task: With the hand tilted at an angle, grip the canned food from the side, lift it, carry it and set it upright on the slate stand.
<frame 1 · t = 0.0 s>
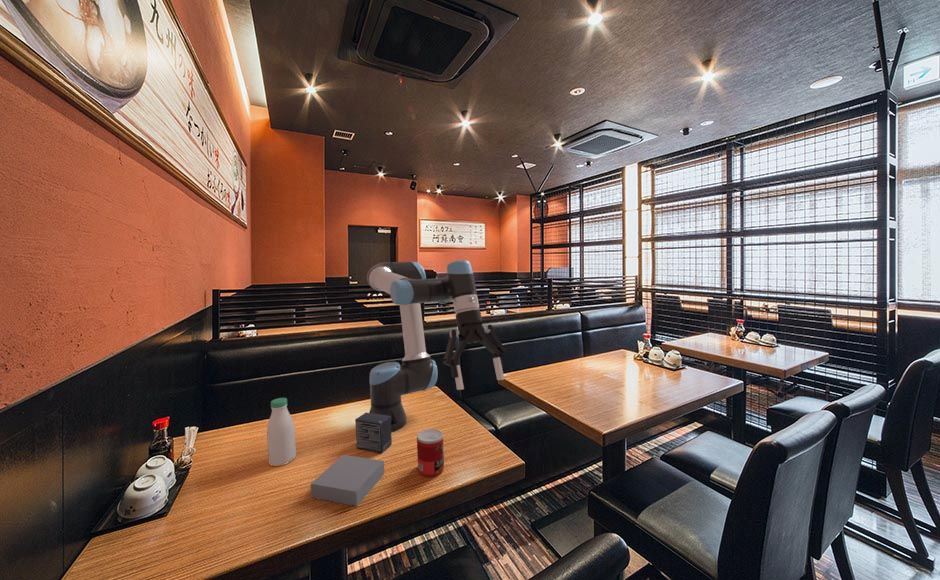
hand: (481, 384, 95), 28 cm above the table, tool tilted 20°, fingers open, 13 cm apart
milk bottle: (282, 460, 109), on the table
slate stand: (349, 485, 95), on the table
small box: (374, 447, 116), on the table
canned food: (431, 470, 102), on the table
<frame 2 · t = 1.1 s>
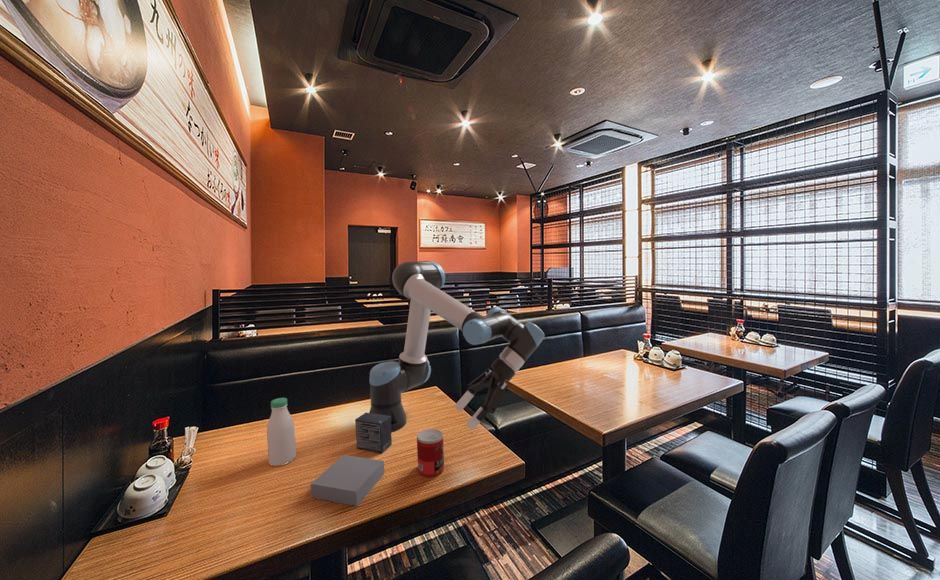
hand: (463, 417, 103), 15 cm above the table, tool tilted 45°, fingers open, 13 cm apart
nothing on the table moved.
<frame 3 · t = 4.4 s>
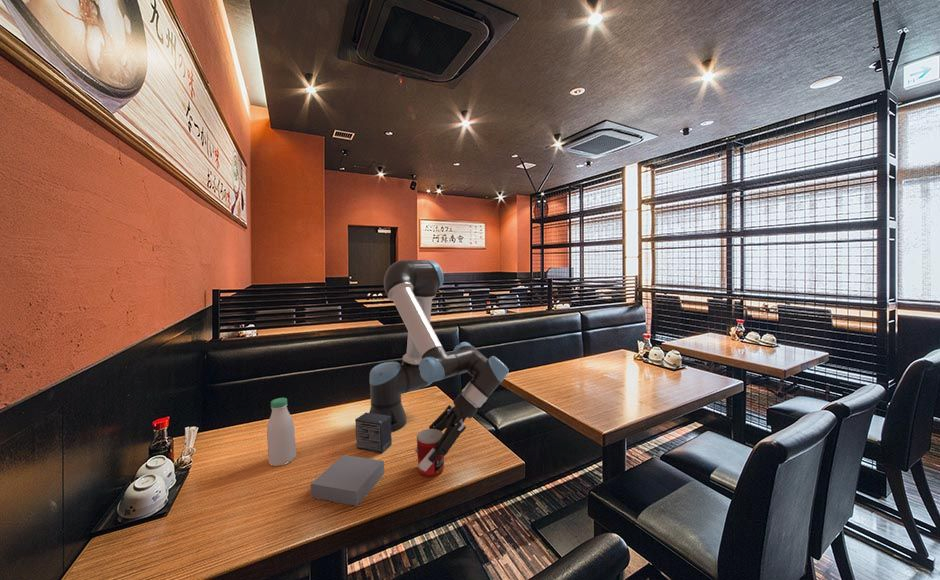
hand: (419, 460, 100), 4 cm above the table, tool tilted 45°, fingers closed on canned food, 8 cm apart
canned food: (431, 470, 102), on the table, touching gripper
everything else where it was.
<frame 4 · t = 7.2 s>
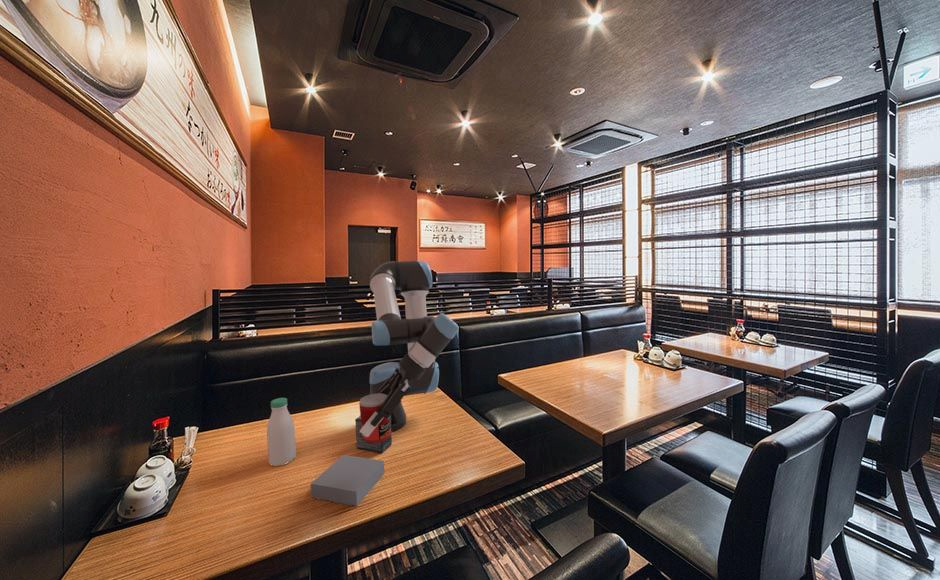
hand: (363, 426, 93), 18 cm above the table, tool tilted 45°, fingers closed on canned food, 8 cm apart
canned food: (377, 436, 94), point 14 cm above the table, touching gripper
everything else where it was.
when the fingers open (9 cm above the table, at t = 10.0 s): canned food drops 1 cm, resting on slate stand.
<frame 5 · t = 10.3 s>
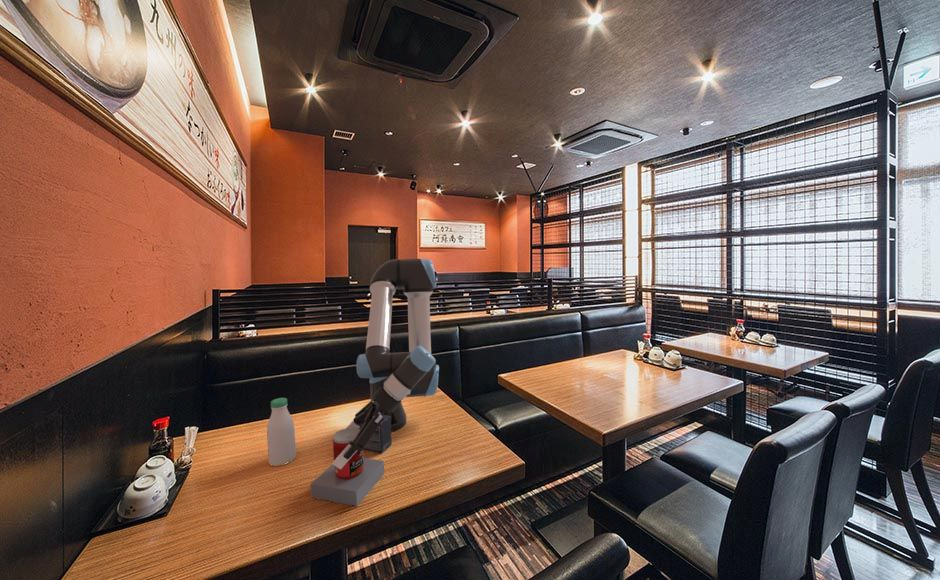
hand: (338, 453, 94), 10 cm above the table, tool tilted 45°, fingers open, 12 cm apart
canned food: (349, 472, 95), point 4 cm above the table, touching slate stand
everything else where it was.
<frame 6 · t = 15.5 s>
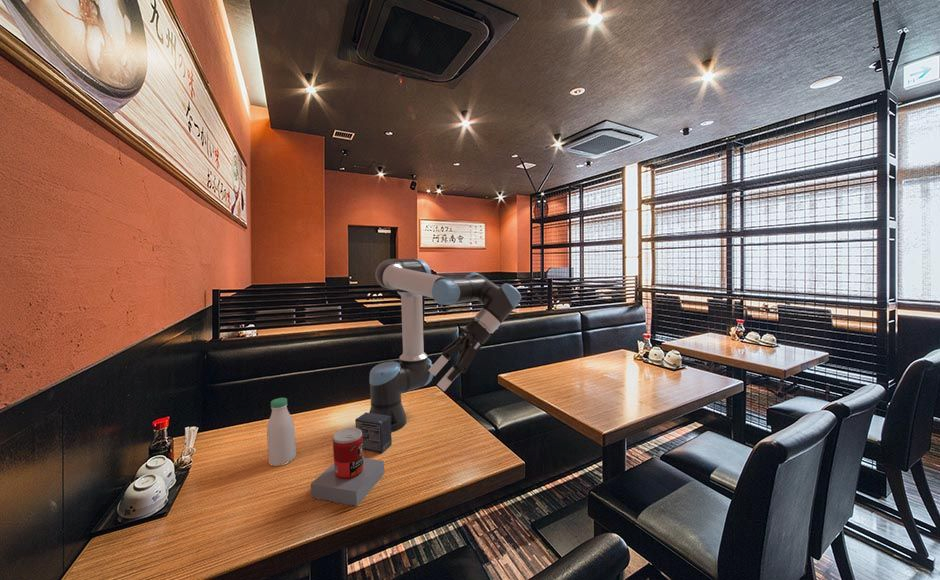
hand: (435, 380, 100), 28 cm above the table, tool tilted 45°, fingers open, 13 cm apart
nothing on the table moved.
at the end: canned food inside the target area on the slate stand (0.1 cm from its centre), point 3.8 cm above the slate stand's base; canned food tilted 0°; the gripper is holding nothing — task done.
